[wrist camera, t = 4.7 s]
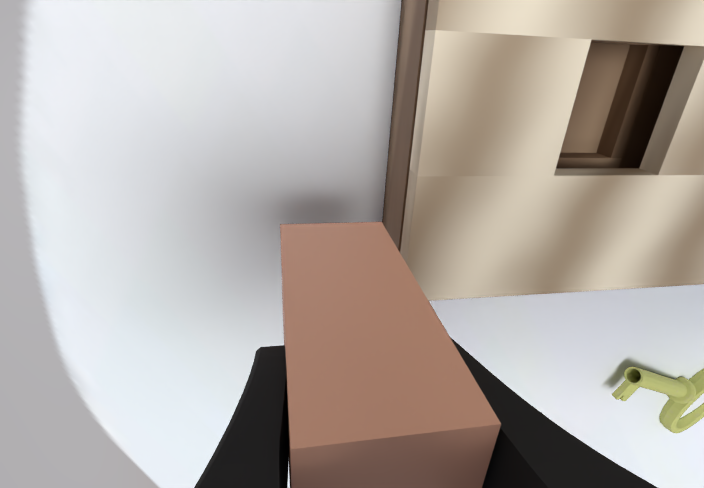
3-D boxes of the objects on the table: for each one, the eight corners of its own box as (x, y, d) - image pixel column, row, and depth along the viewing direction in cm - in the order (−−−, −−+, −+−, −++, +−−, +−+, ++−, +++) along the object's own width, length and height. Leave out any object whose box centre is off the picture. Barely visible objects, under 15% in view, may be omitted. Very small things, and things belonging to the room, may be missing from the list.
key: (613, 352, 29) (637, 375, 27) (743, 354, 32) (773, 375, 30) (572, 424, 32) (591, 449, 30) (694, 420, 35) (718, 442, 33)
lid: (888, -127, 14) (1059, -172, 11) (693, 273, 21) (764, 313, 18) (451, -197, 11) (517, -284, 8) (395, 289, 18) (420, 340, 15)
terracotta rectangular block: (381, 222, 14) (501, 424, 7) (374, 304, 16) (464, 542, 8) (280, 224, 14) (290, 449, 6) (282, 309, 15) (293, 572, 8)
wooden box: (783, -99, 17) (876, -124, 14) (643, 245, 24) (688, 270, 22) (414, -150, 14) (447, -193, 12) (379, 255, 21) (394, 286, 19)
